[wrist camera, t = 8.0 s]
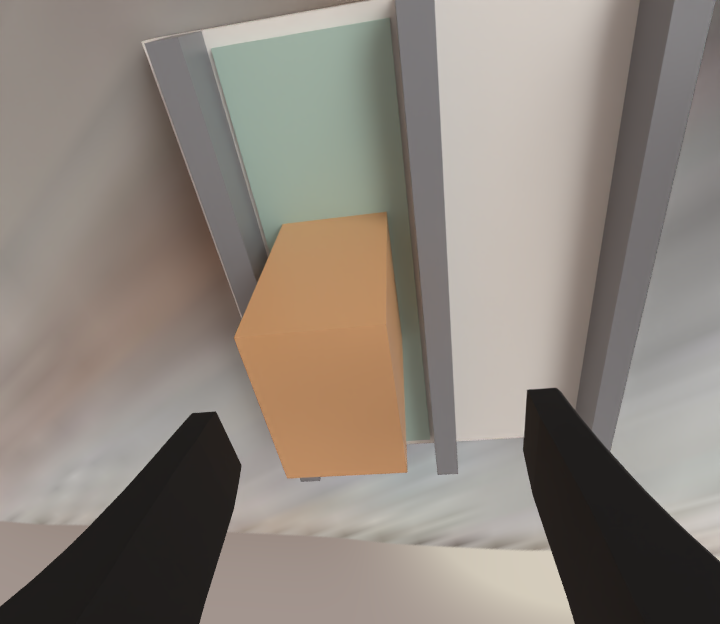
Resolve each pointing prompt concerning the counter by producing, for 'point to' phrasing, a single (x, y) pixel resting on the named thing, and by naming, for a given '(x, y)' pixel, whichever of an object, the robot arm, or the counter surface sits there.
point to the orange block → (329, 348)
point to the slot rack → (457, 178)
